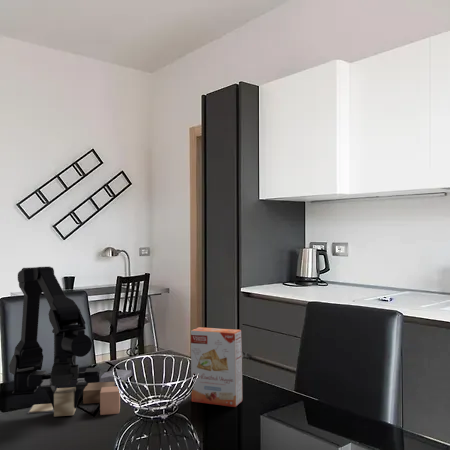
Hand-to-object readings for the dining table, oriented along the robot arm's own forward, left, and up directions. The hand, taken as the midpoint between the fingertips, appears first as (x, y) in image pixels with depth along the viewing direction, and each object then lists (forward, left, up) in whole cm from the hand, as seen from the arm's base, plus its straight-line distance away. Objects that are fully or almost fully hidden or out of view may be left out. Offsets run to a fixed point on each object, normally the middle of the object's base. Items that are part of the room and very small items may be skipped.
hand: (65, 408), depth 131 cm
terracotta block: (+12, 0, -2) cm, 12 cm away
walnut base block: (+8, +12, -2) cm, 15 cm away
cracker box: (+42, +1, -2) cm, 42 cm away
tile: (-7, +6, -2) cm, 9 cm away
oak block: (0, 0, -1) cm, 1 cm away
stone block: (+11, +28, -2) cm, 30 cm away
